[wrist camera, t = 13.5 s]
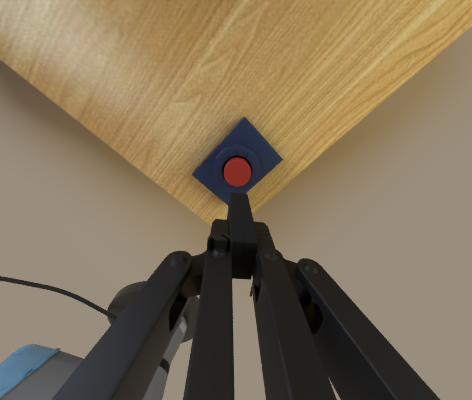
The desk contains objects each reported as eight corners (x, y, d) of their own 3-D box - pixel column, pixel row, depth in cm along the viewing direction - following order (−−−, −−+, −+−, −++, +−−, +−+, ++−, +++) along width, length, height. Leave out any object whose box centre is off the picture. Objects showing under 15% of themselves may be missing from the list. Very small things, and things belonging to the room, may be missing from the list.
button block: (230, 201, 31) (230, 213, 27) (194, 170, 28) (189, 178, 24) (279, 156, 27) (286, 162, 24) (243, 116, 25) (245, 116, 21)
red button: (237, 186, 26) (237, 191, 24) (218, 170, 24) (217, 174, 23) (255, 169, 25) (256, 173, 23) (237, 151, 23) (237, 154, 22)
